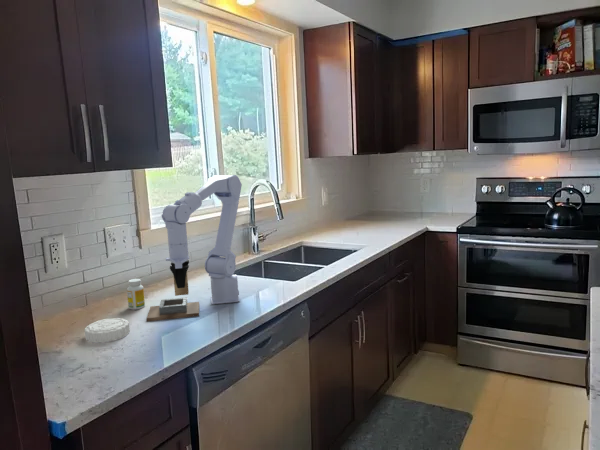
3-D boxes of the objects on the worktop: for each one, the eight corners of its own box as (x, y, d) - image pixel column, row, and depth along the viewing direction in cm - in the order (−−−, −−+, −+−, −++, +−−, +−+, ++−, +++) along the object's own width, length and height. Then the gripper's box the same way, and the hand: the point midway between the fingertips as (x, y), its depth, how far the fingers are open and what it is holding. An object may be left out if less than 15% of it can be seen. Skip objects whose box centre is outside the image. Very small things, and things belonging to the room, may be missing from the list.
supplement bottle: (126, 310, 156) (124, 282, 155) (130, 305, 161) (128, 278, 160) (143, 309, 157) (140, 281, 155) (146, 304, 162) (144, 277, 160)
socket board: (199, 304, 159) (198, 294, 159) (199, 315, 148) (198, 305, 147) (150, 309, 156) (149, 299, 156) (146, 321, 145) (145, 310, 144)
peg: (188, 290, 148) (186, 266, 147) (188, 294, 144) (186, 269, 143) (175, 292, 147) (173, 267, 146) (175, 295, 143) (173, 270, 142)
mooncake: (113, 325, 143) (112, 314, 143) (138, 332, 137) (137, 320, 136) (76, 338, 133) (75, 326, 133) (102, 346, 127) (100, 334, 126)
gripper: (166, 240, 150) (169, 281, 152) (162, 248, 135) (166, 293, 138) (188, 238, 151) (191, 279, 153) (187, 246, 137) (191, 291, 139)
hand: (181, 285), depth 145 cm, fingers closed on peg, 4 cm apart
